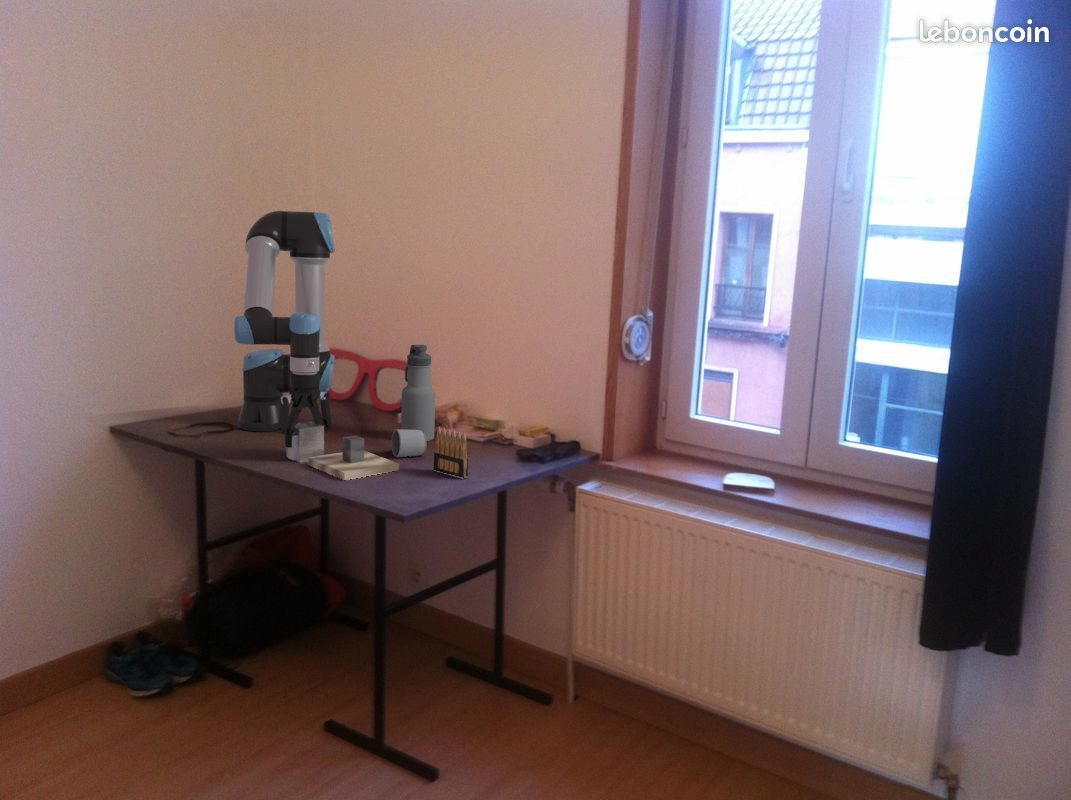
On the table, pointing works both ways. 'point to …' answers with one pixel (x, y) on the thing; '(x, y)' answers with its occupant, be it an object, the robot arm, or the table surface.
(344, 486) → the table surface
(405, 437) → the ceramic mug
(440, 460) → the ammunition clip
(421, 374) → the water bottle
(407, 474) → the table surface
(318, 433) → the mottled grey cube
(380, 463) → the base
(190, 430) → the table surface
